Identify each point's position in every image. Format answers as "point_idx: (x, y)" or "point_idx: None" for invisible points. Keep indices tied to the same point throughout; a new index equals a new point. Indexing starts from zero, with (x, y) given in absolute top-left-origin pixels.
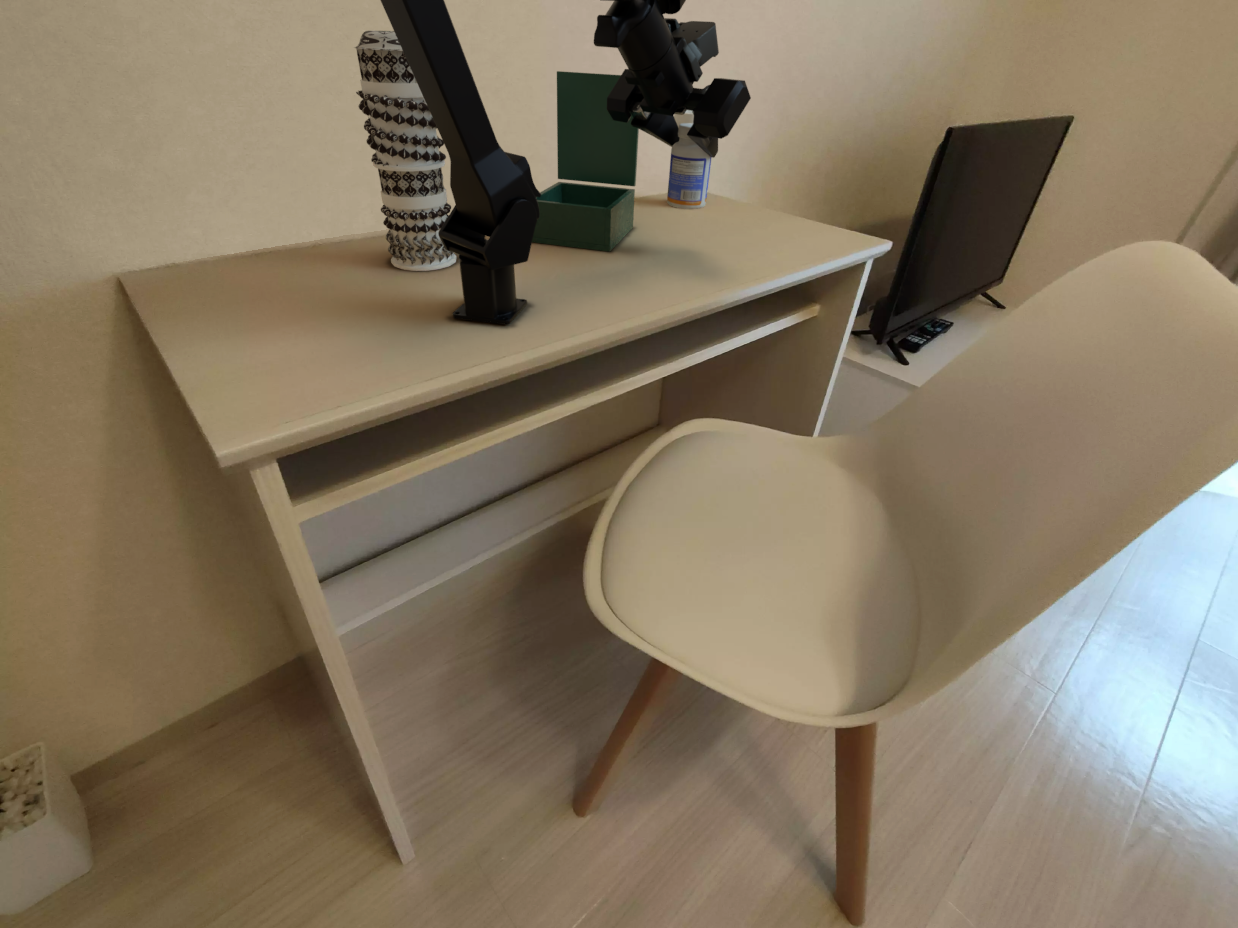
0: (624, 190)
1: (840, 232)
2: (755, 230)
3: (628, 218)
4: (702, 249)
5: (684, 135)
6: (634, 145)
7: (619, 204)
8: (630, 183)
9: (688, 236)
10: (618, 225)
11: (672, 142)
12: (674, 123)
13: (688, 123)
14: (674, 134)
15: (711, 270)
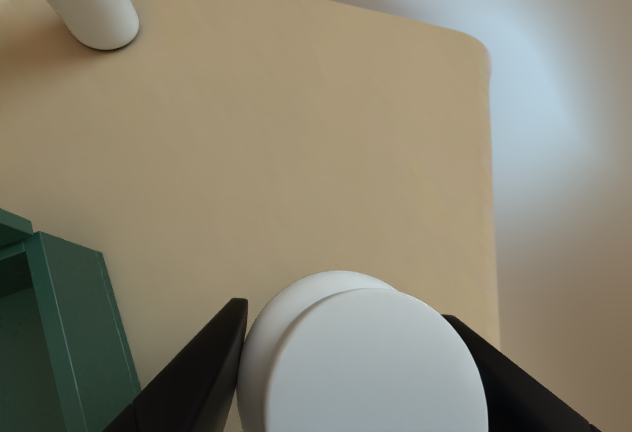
0: (11, 257)
1: (415, 26)
2: (314, 97)
3: (96, 297)
4: (311, 273)
5: None
6: None
7: (88, 416)
8: (11, 237)
9: (239, 217)
10: (120, 401)
11: (225, 411)
12: (195, 430)
13: (295, 358)
14: (218, 404)
15: None
